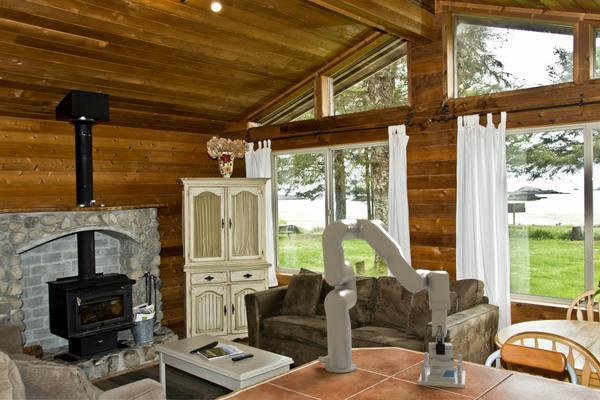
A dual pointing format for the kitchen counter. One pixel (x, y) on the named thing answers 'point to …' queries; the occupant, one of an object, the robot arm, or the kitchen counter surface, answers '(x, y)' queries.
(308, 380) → the kitchen counter surface
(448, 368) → the ink box
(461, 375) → the tray
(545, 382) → the kitchen counter surface
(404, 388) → the kitchen counter surface
